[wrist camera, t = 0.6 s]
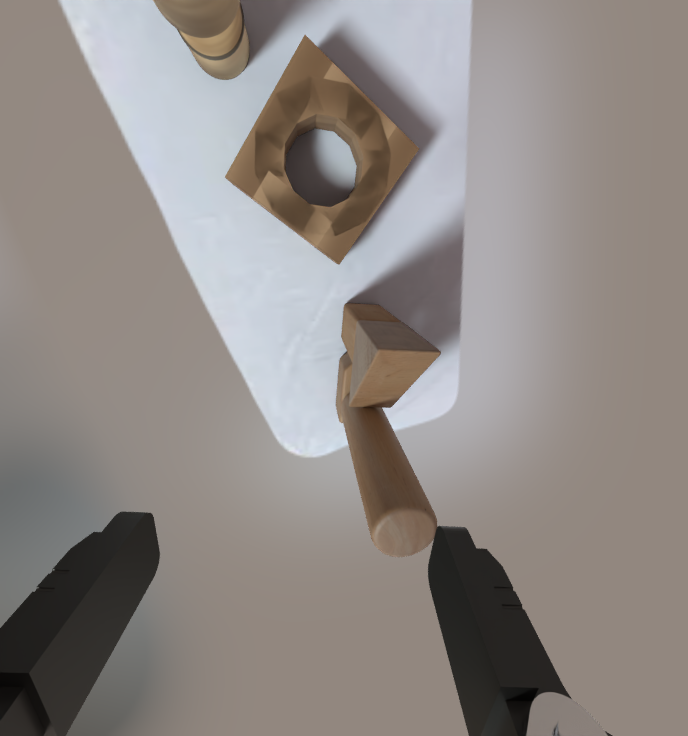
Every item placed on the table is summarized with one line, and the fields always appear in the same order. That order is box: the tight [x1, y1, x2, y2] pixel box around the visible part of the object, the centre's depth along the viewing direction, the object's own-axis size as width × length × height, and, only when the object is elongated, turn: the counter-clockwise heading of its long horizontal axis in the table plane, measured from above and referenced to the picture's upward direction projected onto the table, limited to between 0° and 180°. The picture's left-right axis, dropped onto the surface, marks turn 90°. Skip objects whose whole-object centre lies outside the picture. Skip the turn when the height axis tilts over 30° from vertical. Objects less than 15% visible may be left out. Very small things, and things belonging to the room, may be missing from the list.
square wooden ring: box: [225, 35, 419, 264], centre depth 25 cm, size 10×10×3 cm
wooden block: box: [336, 303, 441, 557], centre depth 24 cm, size 4×11×18 cm, turn 175°
